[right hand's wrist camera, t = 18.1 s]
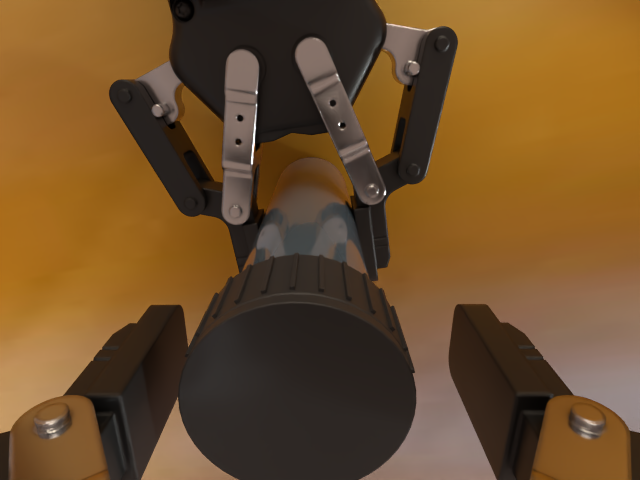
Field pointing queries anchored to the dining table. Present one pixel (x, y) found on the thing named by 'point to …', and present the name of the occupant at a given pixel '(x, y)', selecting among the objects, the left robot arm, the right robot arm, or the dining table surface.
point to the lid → (298, 374)
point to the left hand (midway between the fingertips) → (318, 279)
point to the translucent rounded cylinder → (309, 217)
